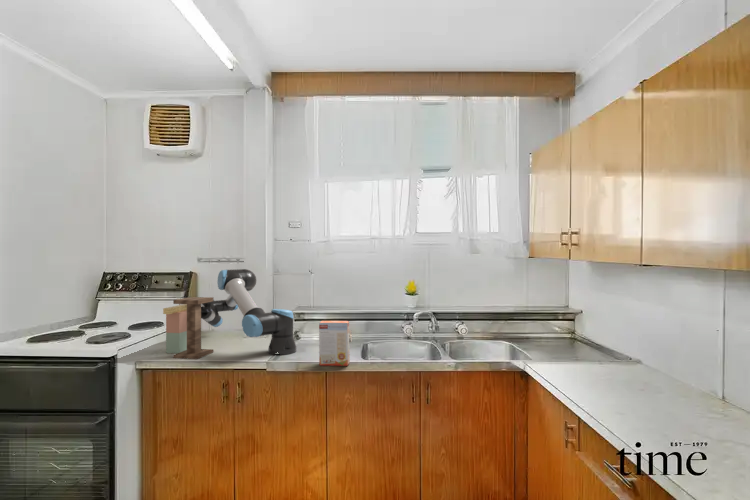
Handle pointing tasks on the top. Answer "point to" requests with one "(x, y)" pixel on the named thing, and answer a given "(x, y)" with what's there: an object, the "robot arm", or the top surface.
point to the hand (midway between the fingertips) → (187, 300)
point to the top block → (176, 322)
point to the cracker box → (334, 343)
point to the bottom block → (176, 342)
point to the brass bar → (175, 309)
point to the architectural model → (350, 335)
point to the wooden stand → (193, 327)
